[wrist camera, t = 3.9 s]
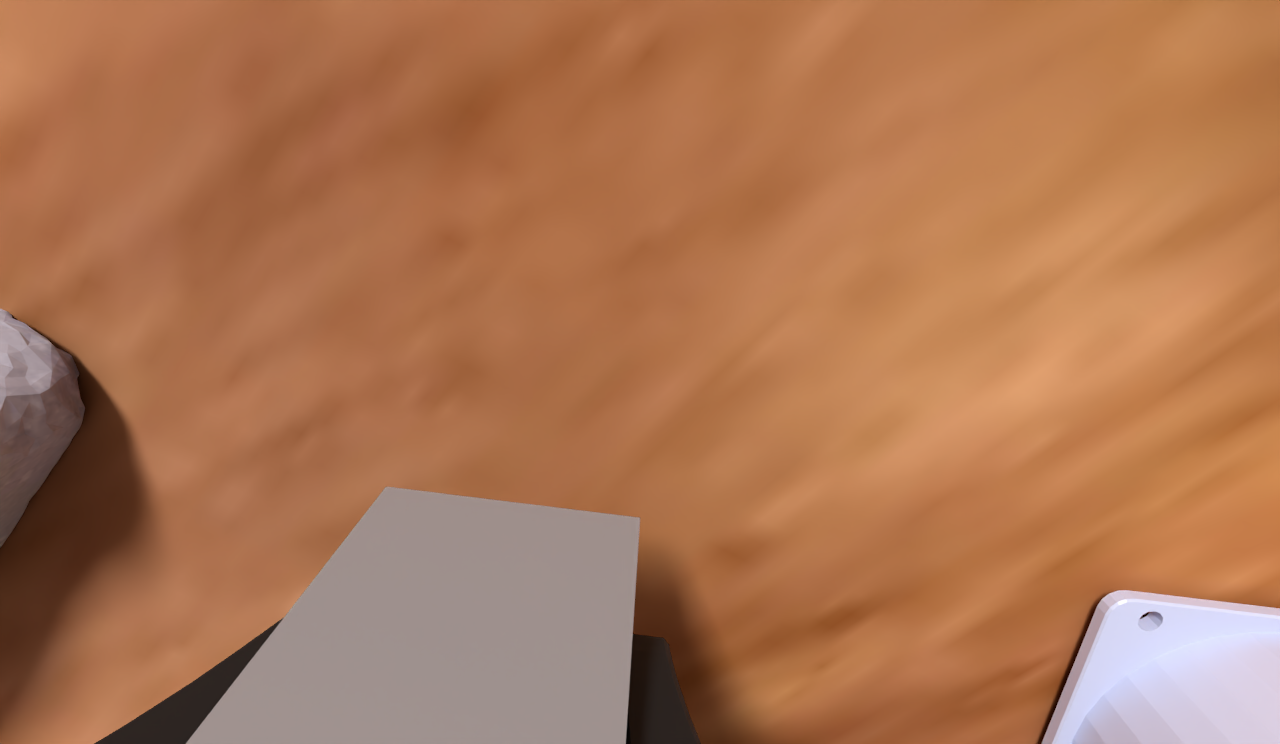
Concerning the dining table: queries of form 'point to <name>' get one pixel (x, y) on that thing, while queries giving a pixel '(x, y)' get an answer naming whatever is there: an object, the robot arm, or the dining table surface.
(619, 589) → the grey rectangular block
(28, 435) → the stone block
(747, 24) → the dining table surface
